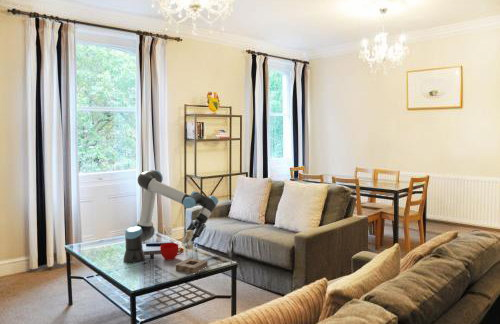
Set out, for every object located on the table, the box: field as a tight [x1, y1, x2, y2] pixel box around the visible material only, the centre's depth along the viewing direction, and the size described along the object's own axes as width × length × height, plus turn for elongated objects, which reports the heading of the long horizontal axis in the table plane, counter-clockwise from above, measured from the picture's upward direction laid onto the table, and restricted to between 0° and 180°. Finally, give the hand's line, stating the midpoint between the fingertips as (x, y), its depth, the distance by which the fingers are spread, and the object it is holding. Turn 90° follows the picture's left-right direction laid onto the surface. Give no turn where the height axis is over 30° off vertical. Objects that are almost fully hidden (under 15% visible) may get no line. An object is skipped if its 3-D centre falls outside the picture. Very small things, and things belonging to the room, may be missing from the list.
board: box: [175, 257, 209, 274], centre depth 288 cm, size 15×16×4 cm
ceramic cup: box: [159, 242, 184, 261], centre depth 307 cm, size 13×17×10 cm
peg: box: [185, 229, 195, 250], centre depth 286 cm, size 5×5×12 cm
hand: (185, 244), depth 283 cm, fingers closed on peg, 5 cm apart
